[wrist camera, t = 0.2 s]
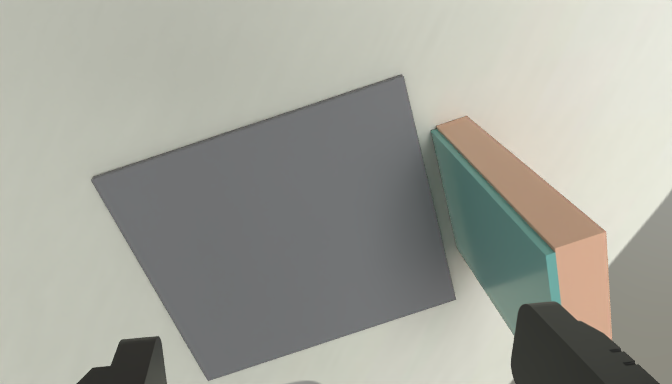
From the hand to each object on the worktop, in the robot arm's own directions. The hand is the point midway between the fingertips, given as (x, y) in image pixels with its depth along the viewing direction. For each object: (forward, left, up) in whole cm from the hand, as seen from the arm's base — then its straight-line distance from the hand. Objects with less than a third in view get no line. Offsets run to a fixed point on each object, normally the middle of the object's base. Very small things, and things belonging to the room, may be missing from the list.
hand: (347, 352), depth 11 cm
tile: (0, +14, -22) cm, 26 cm away
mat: (+9, +6, -22) cm, 25 cm away
